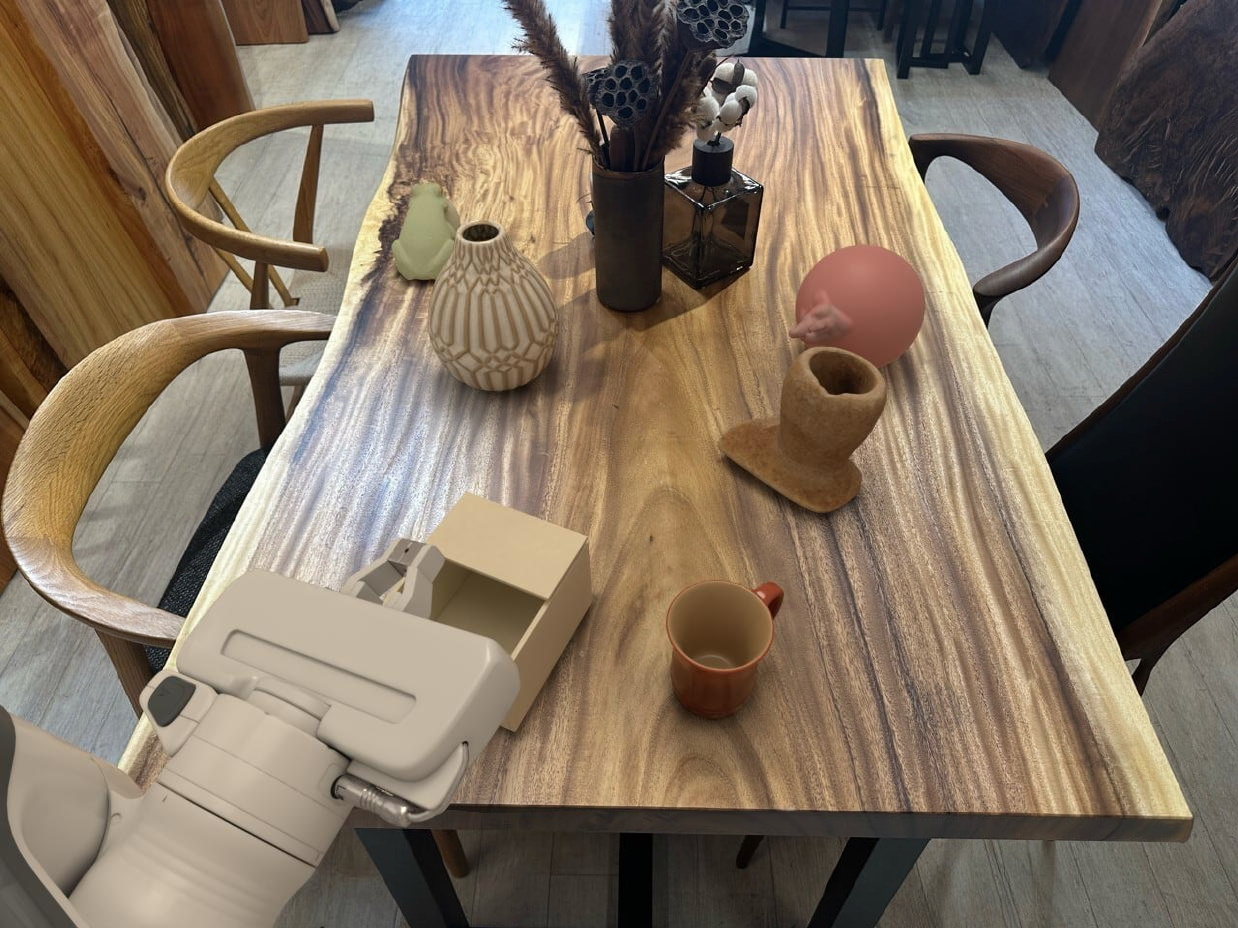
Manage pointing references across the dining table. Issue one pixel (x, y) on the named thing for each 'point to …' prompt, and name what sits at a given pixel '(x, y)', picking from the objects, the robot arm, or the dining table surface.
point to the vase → (491, 311)
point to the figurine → (426, 233)
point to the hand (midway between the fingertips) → (422, 546)
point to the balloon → (861, 304)
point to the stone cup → (813, 429)
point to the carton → (511, 586)
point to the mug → (719, 643)
